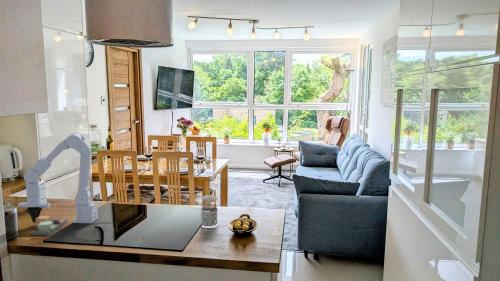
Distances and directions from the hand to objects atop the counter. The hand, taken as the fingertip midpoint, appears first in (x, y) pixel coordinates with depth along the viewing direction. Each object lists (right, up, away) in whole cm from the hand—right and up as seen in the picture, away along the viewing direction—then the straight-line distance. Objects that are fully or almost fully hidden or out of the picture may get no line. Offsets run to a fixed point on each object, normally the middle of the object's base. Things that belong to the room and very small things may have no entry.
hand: (35, 221), depth 170 cm
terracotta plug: (+4, -2, 0) cm, 4 cm away
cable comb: (+9, -2, -3) cm, 10 cm away
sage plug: (+9, -3, -6) cm, 11 cm away
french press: (+83, -3, +4) cm, 83 cm away
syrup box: (-13, +2, +25) cm, 29 cm away
